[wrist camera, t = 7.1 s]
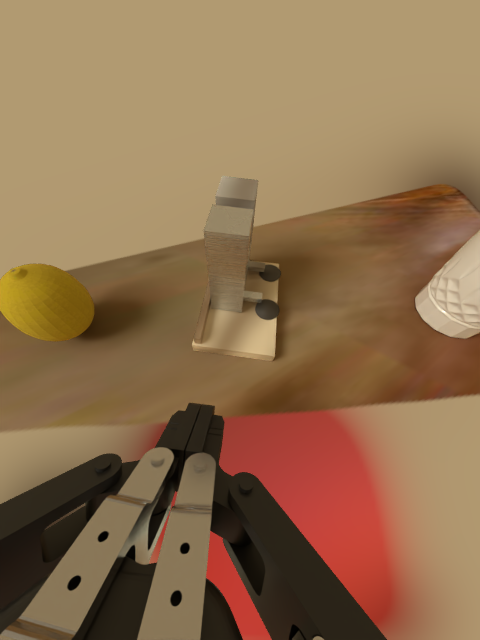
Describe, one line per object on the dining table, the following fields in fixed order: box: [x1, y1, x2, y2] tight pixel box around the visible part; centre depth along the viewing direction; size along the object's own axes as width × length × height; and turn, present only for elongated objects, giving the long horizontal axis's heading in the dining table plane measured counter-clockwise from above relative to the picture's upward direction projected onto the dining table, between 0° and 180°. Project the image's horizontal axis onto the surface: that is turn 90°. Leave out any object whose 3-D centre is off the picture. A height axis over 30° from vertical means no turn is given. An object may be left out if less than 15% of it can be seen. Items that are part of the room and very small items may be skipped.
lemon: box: [0, 264, 94, 341], centre depth 19 cm, size 6×6×8 cm
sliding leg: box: [204, 205, 263, 313], centre depth 20 cm, size 5×3×9 cm, turn 83°
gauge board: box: [192, 176, 281, 361], centre depth 20 cm, size 8×12×10 cm, turn 173°
